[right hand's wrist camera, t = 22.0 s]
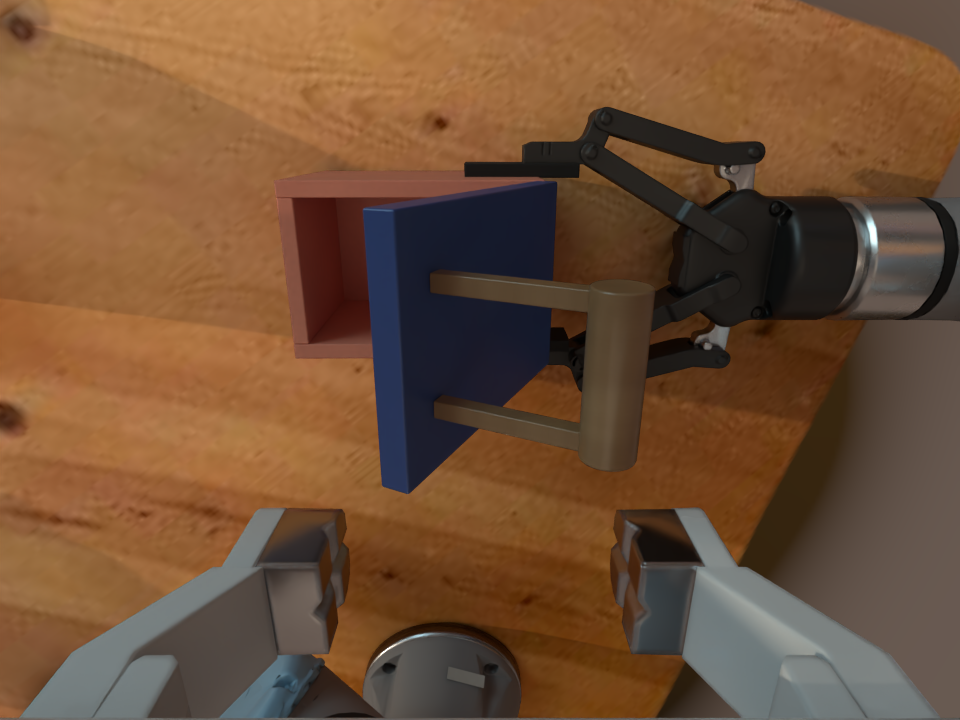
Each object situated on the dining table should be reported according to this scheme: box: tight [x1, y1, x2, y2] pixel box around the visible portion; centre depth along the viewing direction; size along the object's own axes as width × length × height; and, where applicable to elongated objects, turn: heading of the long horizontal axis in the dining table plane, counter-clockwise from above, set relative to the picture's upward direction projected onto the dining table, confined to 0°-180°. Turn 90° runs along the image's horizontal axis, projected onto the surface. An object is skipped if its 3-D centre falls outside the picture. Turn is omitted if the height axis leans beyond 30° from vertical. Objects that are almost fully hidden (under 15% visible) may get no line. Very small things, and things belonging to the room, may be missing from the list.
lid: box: [363, 181, 655, 494], centre depth 23 cm, size 14×10×8 cm
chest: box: [274, 171, 545, 358], centre depth 36 cm, size 14×10×11 cm
